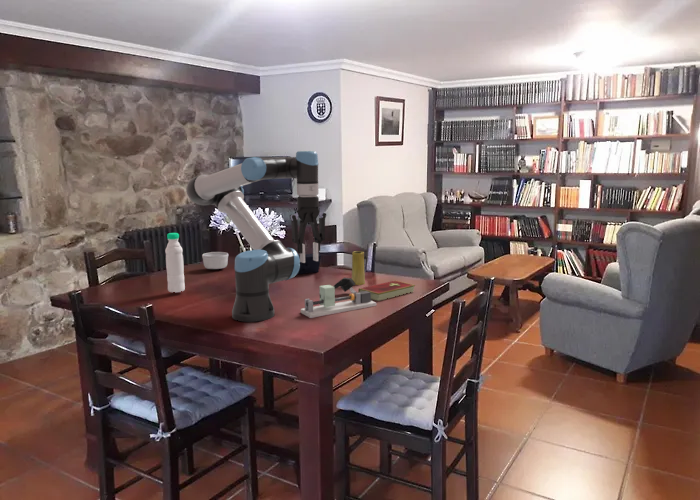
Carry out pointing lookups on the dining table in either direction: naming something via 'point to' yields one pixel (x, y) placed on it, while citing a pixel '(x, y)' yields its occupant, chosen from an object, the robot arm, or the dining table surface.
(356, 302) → the linear slide rail
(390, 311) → the dining table surface
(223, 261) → the ramekin
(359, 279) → the vase
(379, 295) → the hardcover book
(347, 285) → the power plug
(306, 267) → the storage box
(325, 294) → the pale green block
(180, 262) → the water bottle
